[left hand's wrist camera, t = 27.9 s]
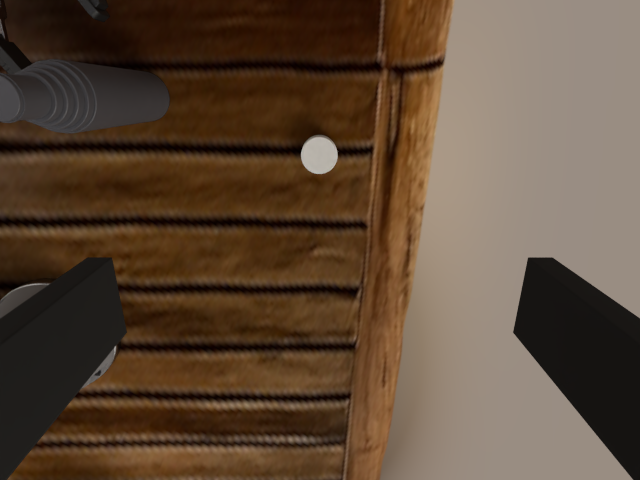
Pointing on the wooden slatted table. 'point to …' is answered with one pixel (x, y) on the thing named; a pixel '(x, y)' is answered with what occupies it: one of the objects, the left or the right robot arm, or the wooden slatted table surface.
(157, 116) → the bottle
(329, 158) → the cap
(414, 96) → the wooden slatted table surface
